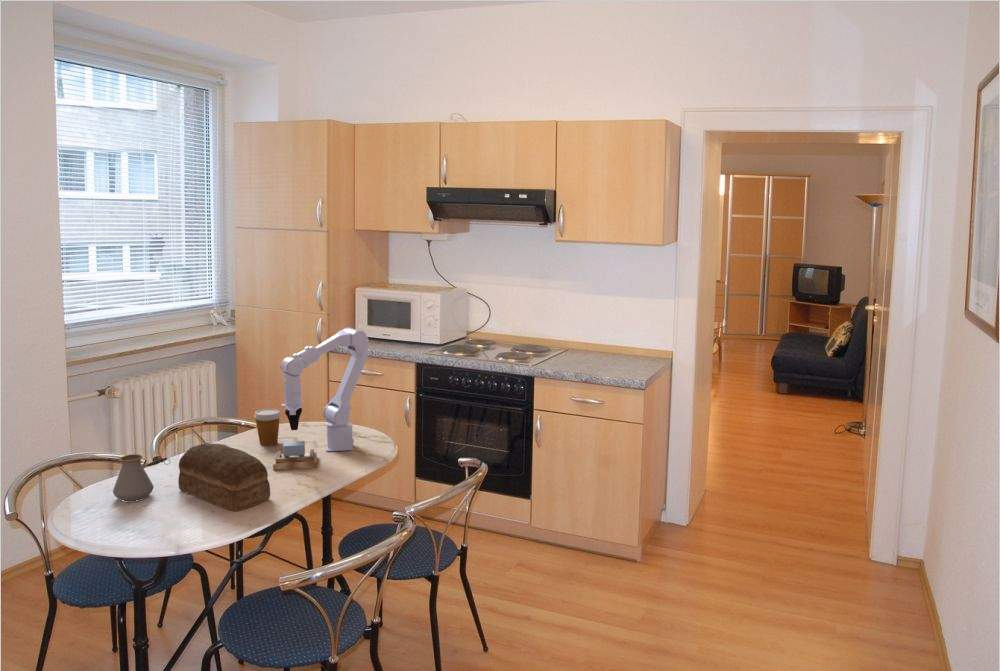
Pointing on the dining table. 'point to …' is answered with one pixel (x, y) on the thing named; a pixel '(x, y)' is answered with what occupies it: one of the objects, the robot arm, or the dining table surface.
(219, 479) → the bread
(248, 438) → the dining table surface
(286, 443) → the blue block with feet
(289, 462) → the dock
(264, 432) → the disposable coffee cup
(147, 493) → the coffee pot
